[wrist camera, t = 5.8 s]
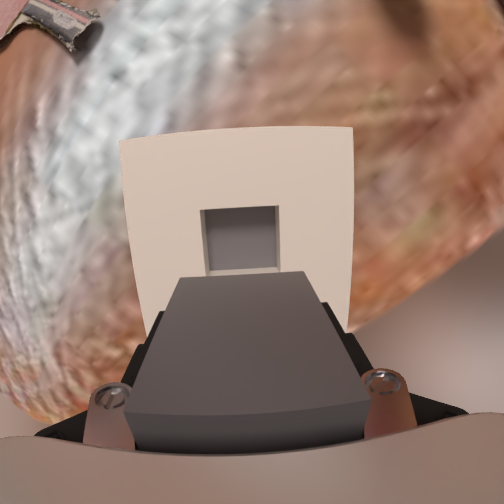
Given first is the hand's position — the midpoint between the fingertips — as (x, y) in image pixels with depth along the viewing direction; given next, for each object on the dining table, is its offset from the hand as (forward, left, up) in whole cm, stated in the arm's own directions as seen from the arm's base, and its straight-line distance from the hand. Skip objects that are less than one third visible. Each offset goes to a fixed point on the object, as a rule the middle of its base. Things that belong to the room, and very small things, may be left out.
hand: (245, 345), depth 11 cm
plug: (0, 0, -2) cm, 2 cm away
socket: (0, 0, -18) cm, 18 cm away
